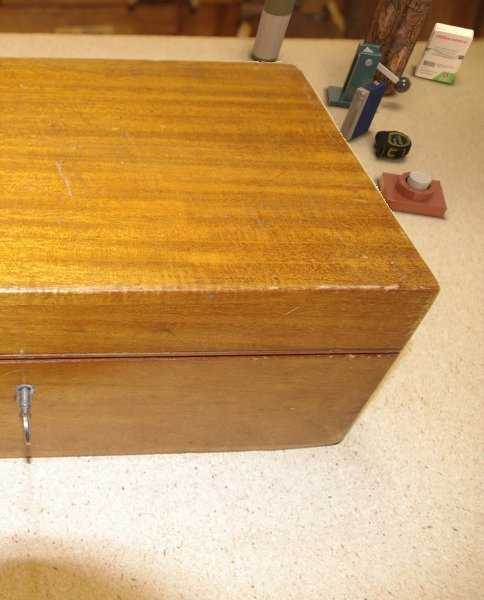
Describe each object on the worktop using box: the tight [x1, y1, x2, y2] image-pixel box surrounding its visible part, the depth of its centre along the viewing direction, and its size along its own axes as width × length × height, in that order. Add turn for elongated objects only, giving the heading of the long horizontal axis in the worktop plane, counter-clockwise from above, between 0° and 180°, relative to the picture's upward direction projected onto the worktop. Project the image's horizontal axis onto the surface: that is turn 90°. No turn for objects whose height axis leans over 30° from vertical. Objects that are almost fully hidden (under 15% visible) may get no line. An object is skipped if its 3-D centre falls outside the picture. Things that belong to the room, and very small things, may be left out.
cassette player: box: [339, 80, 388, 142], centre depth 150 cm, size 7×2×12 cm, turn 123°
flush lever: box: [358, 47, 412, 94], centre depth 157 cm, size 14×4×4 cm, turn 77°
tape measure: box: [374, 130, 412, 160], centre depth 149 cm, size 7×7×4 cm
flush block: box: [378, 171, 448, 218], centre depth 138 cm, size 11×9×4 cm
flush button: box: [406, 170, 433, 190], centre depth 136 cm, size 4×4×2 cm
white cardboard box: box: [414, 22, 475, 84], centre depth 168 cm, size 9×5×12 cm, turn 64°
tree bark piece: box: [362, 0, 436, 97], centre depth 162 cm, size 16×6×25 cm, turn 175°
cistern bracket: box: [327, 42, 382, 109], centre depth 159 cm, size 10×7×13 cm
